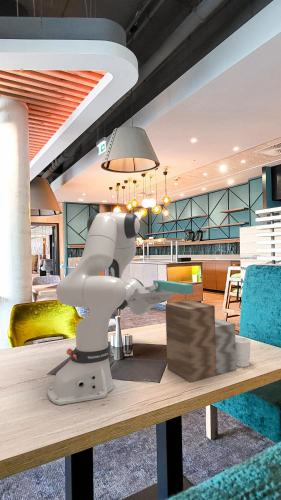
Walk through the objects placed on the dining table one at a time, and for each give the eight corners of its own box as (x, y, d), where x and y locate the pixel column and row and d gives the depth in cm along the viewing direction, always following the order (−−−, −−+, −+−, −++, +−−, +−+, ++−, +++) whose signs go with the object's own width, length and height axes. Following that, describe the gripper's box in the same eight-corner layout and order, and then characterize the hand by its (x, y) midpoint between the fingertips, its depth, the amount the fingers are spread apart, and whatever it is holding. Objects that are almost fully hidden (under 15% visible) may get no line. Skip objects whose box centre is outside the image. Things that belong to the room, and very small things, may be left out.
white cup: (252, 368, 126) (251, 342, 126) (231, 367, 128) (230, 342, 128) (249, 361, 134) (249, 337, 134) (230, 360, 136) (229, 336, 136)
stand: (190, 382, 115) (188, 309, 115) (167, 369, 128) (165, 303, 128) (236, 369, 125) (234, 302, 125) (210, 358, 138) (208, 298, 138)
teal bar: (185, 294, 123) (185, 285, 123) (153, 288, 144) (153, 280, 144) (193, 293, 125) (192, 284, 125) (160, 287, 146) (159, 279, 146)
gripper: (127, 292, 147) (140, 279, 137) (165, 288, 157) (179, 276, 146) (131, 305, 145) (143, 293, 134) (169, 300, 154) (184, 288, 144)
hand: (162, 284), depth 140 cm, fingers closed on teal bar, 3 cm apart
